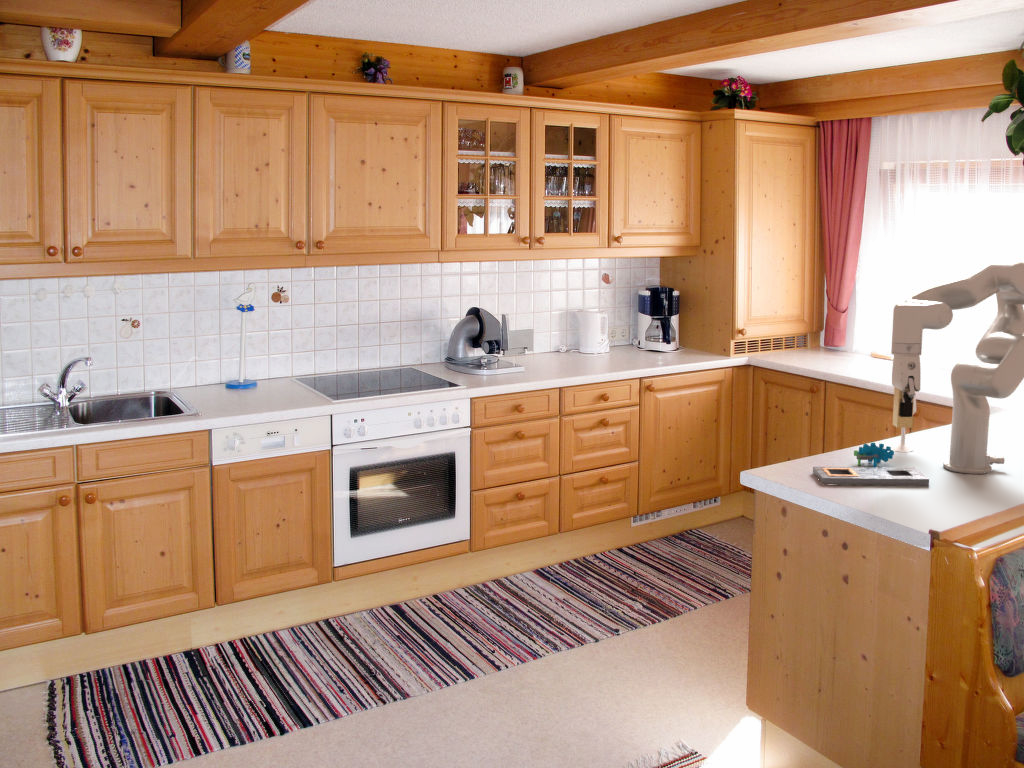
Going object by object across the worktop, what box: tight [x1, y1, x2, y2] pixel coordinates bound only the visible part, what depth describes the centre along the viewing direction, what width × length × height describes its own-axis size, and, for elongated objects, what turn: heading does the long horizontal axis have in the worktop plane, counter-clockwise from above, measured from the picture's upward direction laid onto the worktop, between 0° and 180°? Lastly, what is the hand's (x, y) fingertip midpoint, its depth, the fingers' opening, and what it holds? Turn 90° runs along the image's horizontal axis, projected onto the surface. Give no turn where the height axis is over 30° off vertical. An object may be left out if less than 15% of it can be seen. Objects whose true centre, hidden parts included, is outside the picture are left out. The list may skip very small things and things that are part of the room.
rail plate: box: [812, 466, 930, 487], centre depth 257 cm, size 28×12×2 cm, turn 84°
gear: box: [853, 442, 895, 467], centre depth 271 cm, size 11×6×10 cm
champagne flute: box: [891, 391, 917, 453], centre depth 289 cm, size 7×7×24 cm
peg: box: [892, 386, 914, 429], centre depth 253 cm, size 4×4×12 cm
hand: (903, 414), depth 254 cm, fingers closed on peg, 3 cm apart
